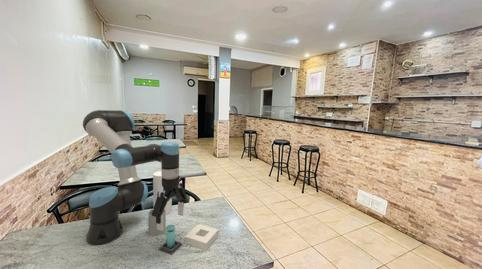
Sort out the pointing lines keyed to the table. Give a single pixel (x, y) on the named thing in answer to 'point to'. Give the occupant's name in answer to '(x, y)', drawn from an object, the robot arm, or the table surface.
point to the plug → (170, 236)
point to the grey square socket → (170, 251)
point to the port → (197, 240)
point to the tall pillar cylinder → (158, 188)
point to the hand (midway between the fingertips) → (171, 221)
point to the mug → (155, 224)
